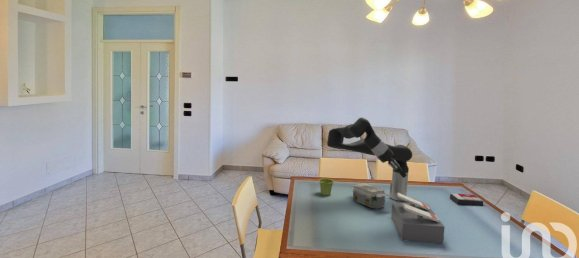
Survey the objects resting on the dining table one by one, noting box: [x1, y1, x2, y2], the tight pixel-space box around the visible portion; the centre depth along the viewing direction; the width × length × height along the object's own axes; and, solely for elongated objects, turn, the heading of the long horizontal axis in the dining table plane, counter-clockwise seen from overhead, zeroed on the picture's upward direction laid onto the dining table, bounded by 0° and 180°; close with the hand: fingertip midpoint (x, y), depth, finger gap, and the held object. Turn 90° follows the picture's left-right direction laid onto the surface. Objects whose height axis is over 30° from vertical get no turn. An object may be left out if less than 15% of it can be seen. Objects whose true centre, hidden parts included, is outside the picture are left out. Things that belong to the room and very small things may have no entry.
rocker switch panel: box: [390, 201, 446, 244], centre depth 167 cm, size 28×18×10 cm, turn 173°
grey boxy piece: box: [349, 183, 390, 209], centre depth 201 cm, size 12×28×10 cm, turn 25°
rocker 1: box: [397, 193, 431, 211], centre depth 174 cm, size 6×16×1 cm, turn 83°
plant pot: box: [318, 178, 334, 196], centre depth 216 cm, size 9×9×9 cm
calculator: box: [449, 192, 484, 207], centre depth 208 cm, size 11×4×15 cm
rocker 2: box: [402, 202, 441, 222], centre depth 159 cm, size 6×16×1 cm, turn 83°
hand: (405, 176), depth 173 cm, fingers closed
